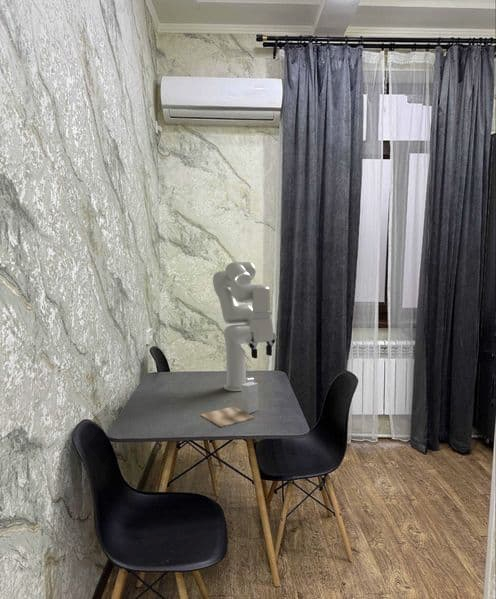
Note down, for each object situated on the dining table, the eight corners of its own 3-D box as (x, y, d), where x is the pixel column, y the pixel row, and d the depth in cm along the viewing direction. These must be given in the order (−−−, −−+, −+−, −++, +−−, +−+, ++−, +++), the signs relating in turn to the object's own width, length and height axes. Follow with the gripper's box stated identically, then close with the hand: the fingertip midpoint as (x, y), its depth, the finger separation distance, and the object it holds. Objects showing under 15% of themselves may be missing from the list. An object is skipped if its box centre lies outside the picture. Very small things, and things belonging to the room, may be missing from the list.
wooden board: (233, 407, 195) (233, 406, 195) (254, 418, 182) (254, 417, 182) (200, 415, 186) (200, 414, 186) (220, 427, 173) (220, 426, 173)
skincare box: (251, 408, 194) (251, 381, 193) (258, 410, 191) (258, 383, 190) (241, 411, 190) (240, 384, 189) (248, 414, 187) (247, 386, 186)
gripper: (272, 312, 198) (272, 352, 200) (239, 316, 188) (240, 357, 190) (282, 314, 192) (283, 355, 194) (249, 318, 182) (250, 361, 184)
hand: (261, 356), depth 192 cm, fingers open, 7 cm apart
